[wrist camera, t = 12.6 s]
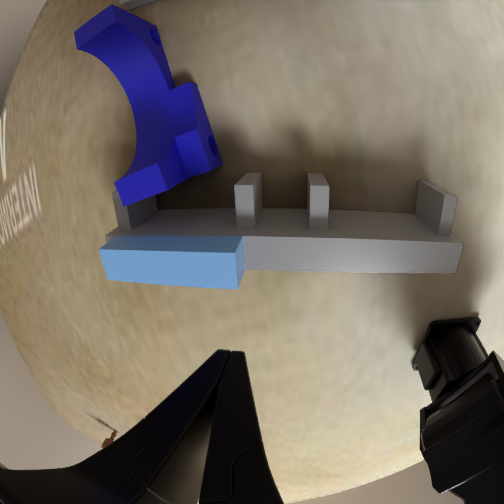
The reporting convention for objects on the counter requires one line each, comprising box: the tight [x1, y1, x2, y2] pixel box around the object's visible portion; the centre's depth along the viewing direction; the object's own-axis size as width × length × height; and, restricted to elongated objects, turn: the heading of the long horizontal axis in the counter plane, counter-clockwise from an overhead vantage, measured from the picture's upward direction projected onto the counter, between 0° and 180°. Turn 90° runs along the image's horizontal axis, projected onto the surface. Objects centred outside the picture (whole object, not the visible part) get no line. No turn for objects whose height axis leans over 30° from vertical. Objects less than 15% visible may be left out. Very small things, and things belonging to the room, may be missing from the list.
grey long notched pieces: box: [99, 0, 464, 289], centre depth 12 cm, size 22×20×7 cm
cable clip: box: [74, 5, 223, 207], centre depth 14 cm, size 12×4×6 cm, turn 17°
